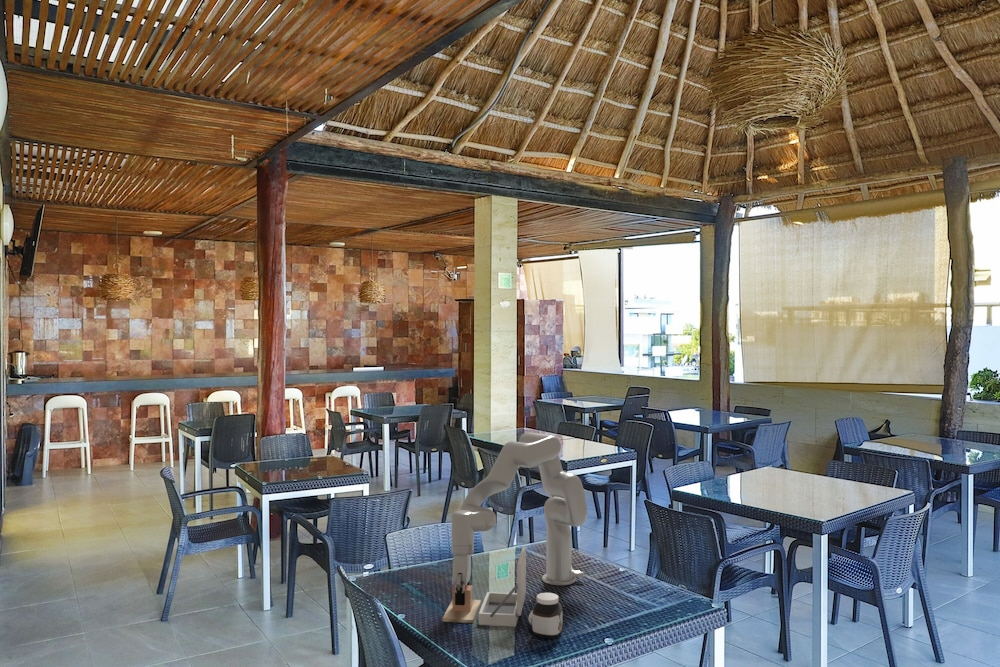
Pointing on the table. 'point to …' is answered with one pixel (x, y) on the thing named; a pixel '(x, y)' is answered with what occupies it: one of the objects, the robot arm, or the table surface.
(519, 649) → the table surface
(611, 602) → the table surface
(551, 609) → the spread jar
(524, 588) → the case
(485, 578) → the table surface
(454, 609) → the block
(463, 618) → the oak board
